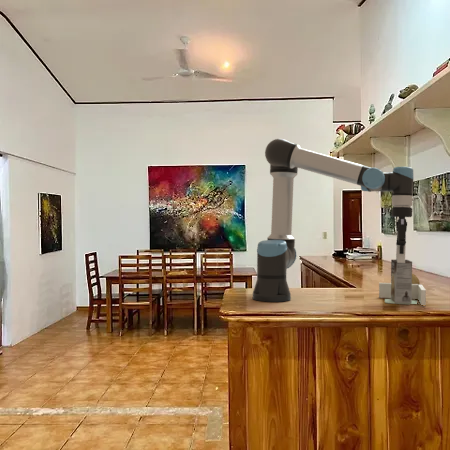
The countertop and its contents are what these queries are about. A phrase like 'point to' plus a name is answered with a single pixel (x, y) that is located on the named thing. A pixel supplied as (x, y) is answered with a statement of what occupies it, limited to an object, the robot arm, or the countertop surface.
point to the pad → (398, 303)
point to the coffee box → (401, 281)
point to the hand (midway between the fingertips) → (400, 261)
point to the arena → (417, 292)
